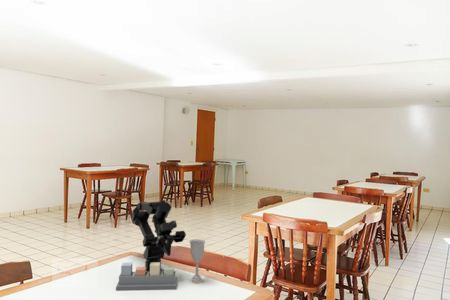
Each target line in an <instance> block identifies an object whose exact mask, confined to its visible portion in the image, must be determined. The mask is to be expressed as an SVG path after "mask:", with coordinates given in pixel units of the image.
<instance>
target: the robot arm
mask: <svg viewBox="0 0 450 300" xmlns="http://www.w3.org/2000/svg"><path fill="white" fill-rule="evenodd" d="M171 210H172V205H171V204H170V203H168V202H166V200H164V199H163V200H160V201H150V202H148V201H141V202H138V203H137V206H136V207H134V208H133V210H132V212H131V221H132V222H133V225H135V226H137V227H139V230H140V231H141V234H142V236H143V239H142V246H143V247H144V248H145V249H144V252H143V253H142V254H143V259H144V260H145V266H144V267H146V272H149V271H150V264H151V262H160V271H163V269H162V259H164V257H165V255H167V256H168V257H170V256H171V252H172V245H173V243H181V242H184V239H185V238H186V236H187V233H186V232H185V230H177V231H175V233H174V234H172V233H173V231H172V230H174V229H176V228H178V227H177V226H178V224H177V222H176V221H177V220H171V221H170V222H167V220H166V219H167V218H168V216H169V214H170V212H171ZM150 215H153V216H152V218H151V220H152V221H151V223H153V226H154V233H155V234H156V236H155V234H154V233H153V230H152V228H151V226H150V224H149V218H150Z"/></svg>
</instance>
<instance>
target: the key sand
mask: <svg viewBox="0 0 450 300" xmlns="http://www.w3.org/2000/svg"><path fill="white" fill-rule="evenodd" d="M150 276H160V262H151V264H150Z"/></svg>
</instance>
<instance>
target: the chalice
mask: <svg viewBox="0 0 450 300" xmlns="http://www.w3.org/2000/svg"><path fill="white" fill-rule="evenodd" d="M188 242H189V243H190V255H191V257H192V260H193V261H194V262H195V270H194V271H195V275H193V276H192V279H191V280H190V282H191V283H193V284H200V283H202V282H203V279H202V276H201V275H200V274H199V271H200V270H199V266H200V265H199V262H201V261H202V259H203V256H204V254H205V243H206V240H204V239H201V238H197V239H195V238H194V239H190V240H189V241H188Z"/></svg>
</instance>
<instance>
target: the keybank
mask: <svg viewBox="0 0 450 300" xmlns="http://www.w3.org/2000/svg"><path fill="white" fill-rule="evenodd" d="M176 273H177V271H176V270H174V275H168V276H164V270H162V271H160V276H150V271H149V272H147V271H146V276H136V271H132V276H121V273H119V275H118V283H117V284H116V286H115V291H152V290H153V291H157V290H162V291H163V290H167V291H168V290H177V289H178V276H176V275H177V274H176Z"/></svg>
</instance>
